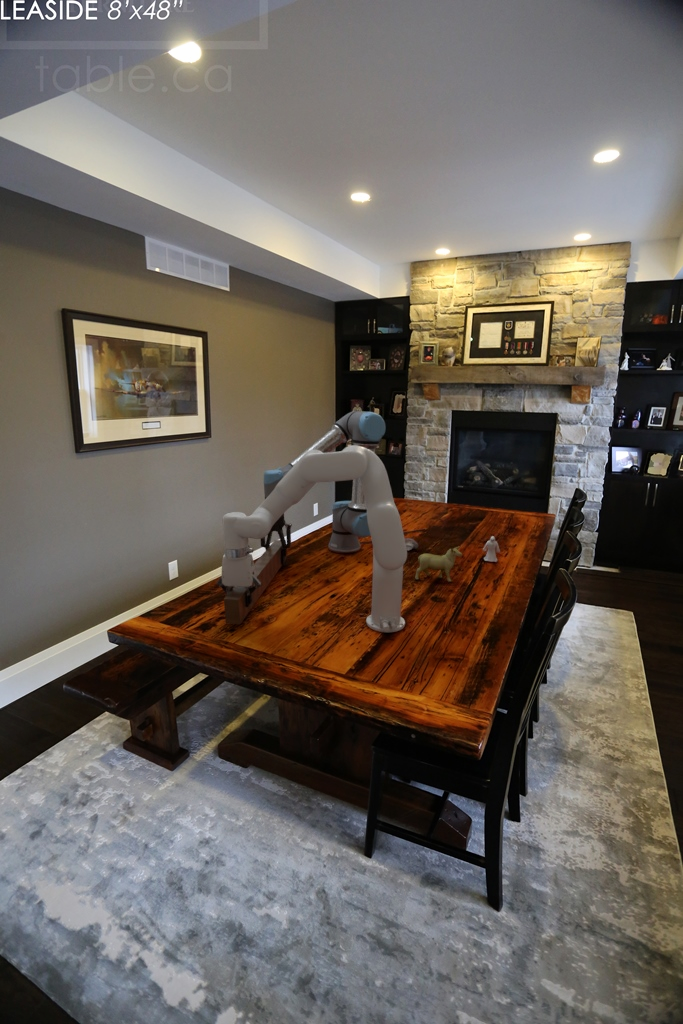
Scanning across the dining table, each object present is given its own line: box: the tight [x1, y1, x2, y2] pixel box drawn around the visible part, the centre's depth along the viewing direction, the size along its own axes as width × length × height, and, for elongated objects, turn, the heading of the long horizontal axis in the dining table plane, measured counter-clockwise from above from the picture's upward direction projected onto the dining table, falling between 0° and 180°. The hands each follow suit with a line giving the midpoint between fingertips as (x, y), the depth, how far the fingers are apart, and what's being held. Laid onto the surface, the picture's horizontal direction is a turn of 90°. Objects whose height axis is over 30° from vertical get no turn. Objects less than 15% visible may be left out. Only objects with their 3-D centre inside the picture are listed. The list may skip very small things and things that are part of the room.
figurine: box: [482, 535, 501, 563], centre depth 223 cm, size 8×8×12 cm
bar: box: [223, 539, 287, 625], centre depth 184 cm, size 61×5×8 cm, turn 173°
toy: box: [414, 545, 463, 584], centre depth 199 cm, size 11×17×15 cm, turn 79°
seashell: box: [404, 537, 419, 552], centre depth 237 cm, size 8×5×8 cm
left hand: (276, 563), depth 207 cm, fingers closed on bar, 5 cm apart
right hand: (240, 604), depth 162 cm, fingers closed on bar, 4 cm apart
